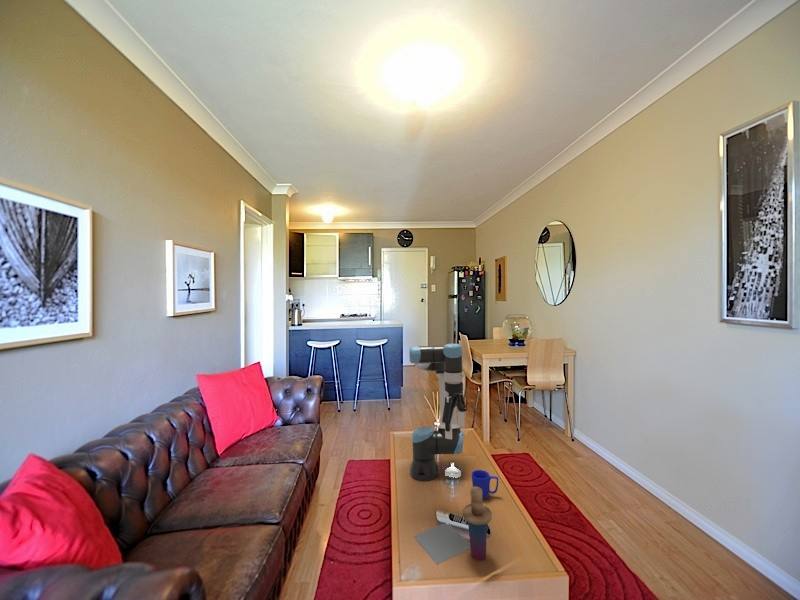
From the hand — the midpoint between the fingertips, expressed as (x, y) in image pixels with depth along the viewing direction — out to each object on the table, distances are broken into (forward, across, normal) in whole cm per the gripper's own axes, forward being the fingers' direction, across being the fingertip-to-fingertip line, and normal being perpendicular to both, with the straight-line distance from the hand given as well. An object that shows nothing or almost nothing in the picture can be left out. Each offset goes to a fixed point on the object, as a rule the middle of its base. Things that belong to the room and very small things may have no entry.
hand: (455, 432), depth 141 cm
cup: (+36, -17, -14) cm, 42 cm away
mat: (+36, -17, 0) cm, 40 cm away
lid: (+21, -16, -14) cm, 30 cm away
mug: (+37, +21, -5) cm, 43 cm away
